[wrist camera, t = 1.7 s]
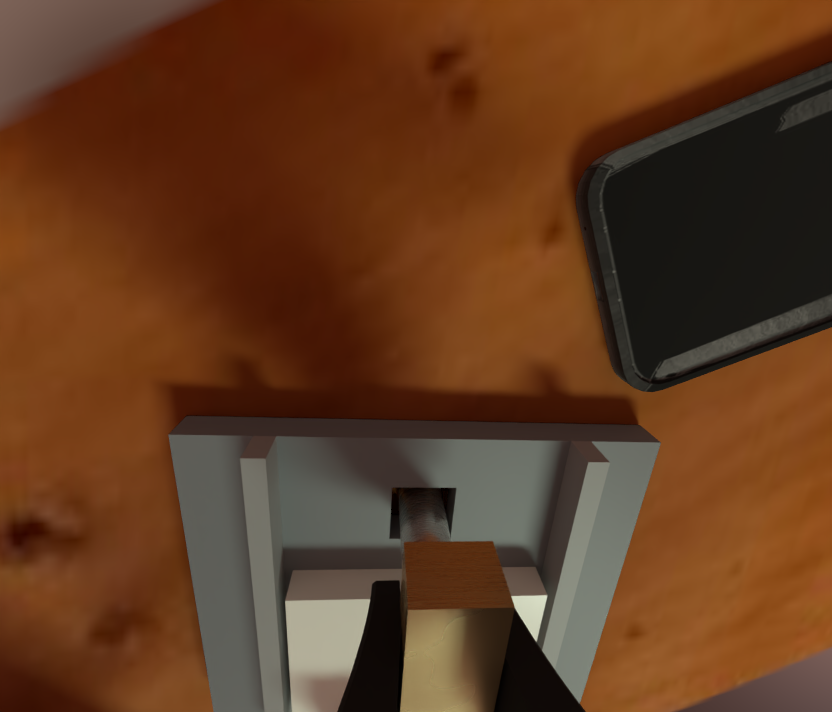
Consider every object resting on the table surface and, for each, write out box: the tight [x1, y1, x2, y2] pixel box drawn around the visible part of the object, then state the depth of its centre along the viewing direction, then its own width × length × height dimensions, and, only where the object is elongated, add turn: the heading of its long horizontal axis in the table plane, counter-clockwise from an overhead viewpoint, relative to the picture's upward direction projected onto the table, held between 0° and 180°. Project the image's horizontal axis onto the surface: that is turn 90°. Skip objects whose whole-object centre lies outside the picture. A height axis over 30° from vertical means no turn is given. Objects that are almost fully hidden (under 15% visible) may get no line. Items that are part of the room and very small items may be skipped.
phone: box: [576, 61, 832, 392], centre depth 12 cm, size 8×1×15 cm
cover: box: [285, 567, 548, 712], centre depth 14 cm, size 9×7×4 cm
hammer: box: [397, 487, 515, 712], centre depth 12 cm, size 2×6×7 cm, turn 176°
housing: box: [169, 416, 661, 712], centre depth 15 cm, size 16×14×2 cm
